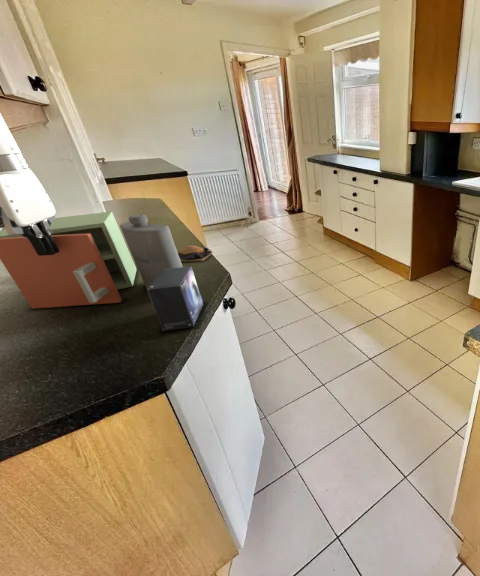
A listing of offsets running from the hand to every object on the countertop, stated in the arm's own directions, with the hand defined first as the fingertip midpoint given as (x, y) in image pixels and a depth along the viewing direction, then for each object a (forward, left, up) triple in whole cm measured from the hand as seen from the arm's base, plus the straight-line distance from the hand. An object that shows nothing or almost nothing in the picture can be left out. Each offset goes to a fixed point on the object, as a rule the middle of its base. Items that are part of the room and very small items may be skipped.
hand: (49, 253), depth 69 cm
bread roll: (+25, +23, -15) cm, 37 cm away
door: (-2, +1, -15) cm, 15 cm away
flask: (+18, +2, -15) cm, 23 cm away
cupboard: (0, +15, -15) cm, 21 cm away
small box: (+22, -17, -15) cm, 31 cm away
